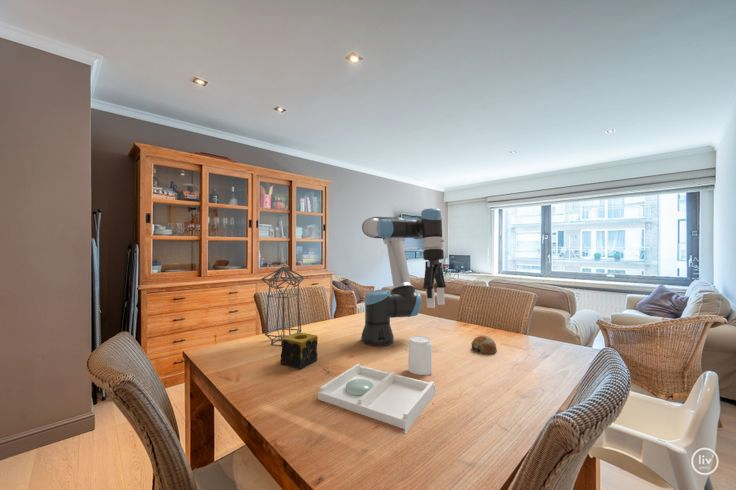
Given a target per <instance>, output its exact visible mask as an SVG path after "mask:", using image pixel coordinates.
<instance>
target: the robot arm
mask: <svg viewBox="0 0 736 490" xmlns="http://www.w3.org/2000/svg"><path fill="white" fill-rule="evenodd" d="M442 219H443V218H442V211H441V209H439V208H436V207H435V208H434V207H433V208H431V207H430V208H424V209H422V210H421V214H420V218H419V219H404V218H403V217H400V216H399V217H397V216H371V217H369V218H366V219H365V220H364V221H363V222H362V223H361V225H362V226H361V229H362V232H363V234H364V235H365V236H367V237H368V238H372V239H382V241H383V244H384V245H386V246H387V247H386V248H387V256H388V261H389V267H390V274H391V279H392V284H393V285H392V286H393V287H392V288H391V289H390V290H389V289H375V290H371V291H369V292H367V293H366V295H365V298H364V299H365V300H364V327H363V330H362V333H361V336H360V339H361V340H360V341H361V343H363V344H365V345H368V346H374V347H375V346H376V347H380V346H381V347H382V346H389V345H391V344H393V343H394V342H395V341H394V340H395V338H394V337H395V336H394V333H393V330H392V327H391V318H392V319H393V318H410V317H416V316H417V315H419V313H420V312H421V310H422V309H421V308H422V295H421V292H419V291H418V290H417V291H416V290H415V289H416V288H415V285H413V284H411V278H410V273H409V267H408V261H407V256H406V251H405V247H404V245H405V244H404V242H405V240H406V239H415V240H421V239H422V249H423V251H422V254H423V260H424V261H425V264H424V265H425V267H424V278H423V286H422V287H423V290H425V291H426V292H425V294H426V308H427V309H435V308H436V303H435V302H436V301H437V305H438V306H439V305H440V306H445V305H446V301H445V300H446V299H445V298H446V297H445V288H447V285H446V282H445V281H446V280H445V276H444V270H443V263H442V262H440V260H443V259H444V257H445V253H444V249H443V248H444V242H445V239H443V222H442V221H443V220H442ZM435 283H436V286H437V287H436V297H435V289H434V285H435ZM436 298H437V299H436ZM435 299H436V301H435Z"/></svg>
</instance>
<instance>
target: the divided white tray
mask: <svg viewBox="0 0 736 490" xmlns="http://www.w3.org/2000/svg"><path fill="white" fill-rule="evenodd" d="M355 379H365V380H368V381H371V382H372V383H373V388H371V389H370V390H369V391H368V392H366V393H365V394H364V395H363V396H353V395H350V394H348V393H347V392H346V384H347V383H348V382H349V381H351V380H355ZM435 395H436V384H435V382H434V381H432V380H430V381H429V382H428V381H424V380H420V379H417V378H412V377H410V376H409V377H408V376H405V375H401V374H396V372H394V371H390V372H388V371H384V370H380V369H377V368H371V367H368V366H364V365H361V363H356V364H355V365H353V366H352V367H349V369H347V370H345V371H344V372H343V373H340V374H339V375H338V376H336V377H334V378H332V379H330V380H329V381H328V382H326V383H325V384H323V385H322V386H320V387H319V391H318V392H317V400H319V401H323V402H324V403H327V404H331V405H333V406H336V407H338V408H342V409H344V410H348V411H352V412H354V413H356V414H359V415H362V416H366V417H368V418H371V419H375V420H377V421H380V422H383V423H384V424H385V423H386V424H388V425H391V426H395V427H398V428H401V429H403V430H404V431H403V432H402V434H403V435H406V434H407V432H409V430H410V429H411V428H412V427H413V424H414V423H415V422H416V421H417V420H418V418H419V417H420V415H422V413H423V411H424V410H425V409H426V408H427V406H428V405H429V404H430V402H432V400H433V398H434V397H435Z"/></svg>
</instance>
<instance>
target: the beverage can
mask: <svg viewBox="0 0 736 490" xmlns="http://www.w3.org/2000/svg"><path fill="white" fill-rule="evenodd" d="M407 343H408V345H407V346H408V347H407V348H408V349H407V350H408V352H407V354H408V360H407V361H408V363H407V365H408V366H407V367H408V370H407V371H408V372H409V373H410V374H411V373H412V374H413V375H414V374H415V375H418V376H419V375H421V376H423V375H424V376H430V375H432V372H433V344H432V341H431V338H430V337H427V336H424V335H423V336H422V335H415V336H410V338H409V340H408V342H407Z"/></svg>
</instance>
